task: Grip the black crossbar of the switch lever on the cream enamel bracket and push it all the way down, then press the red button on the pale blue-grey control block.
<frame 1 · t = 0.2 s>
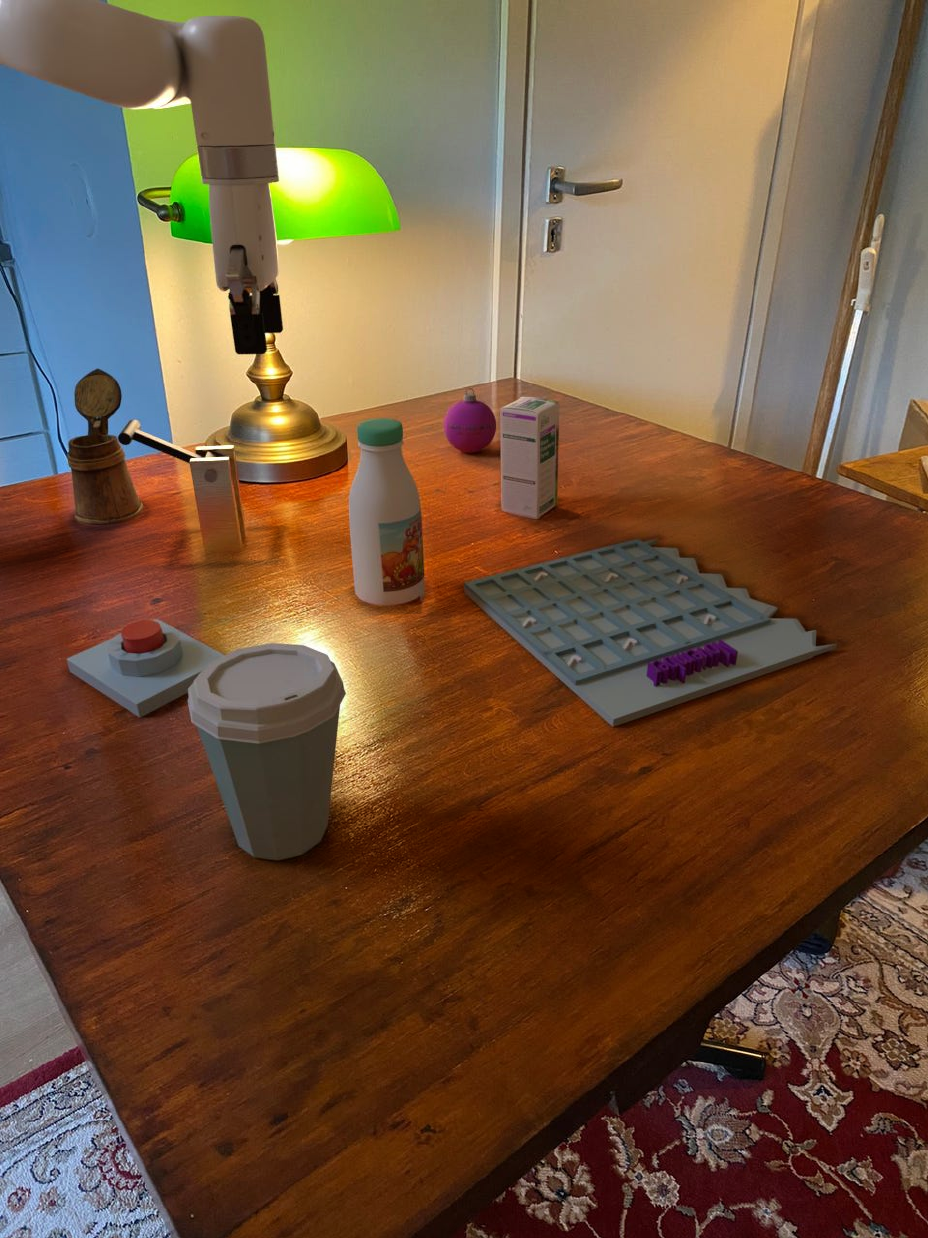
hand: (260, 342, 98), 26 cm above the table, tool pointing down, fingers open, 9 cm apart
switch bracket: (227, 552, 112), on the table
wooden mug: (115, 515, 123), on the table
christmas ornament: (470, 452, 143), on the table
control block: (151, 677, 88), on the table
calendar: (638, 621, 96), on the table
milk bottle: (390, 599, 101), on the table
disposable coffee cup: (287, 836, 69), on the table
button: (142, 637, 86), point 4 cm above the table, slide at 0.1 cm
switch: (175, 451, 105), point 13 cm above the table, hinge at 28.0°
syrup box: (528, 510, 123), on the table
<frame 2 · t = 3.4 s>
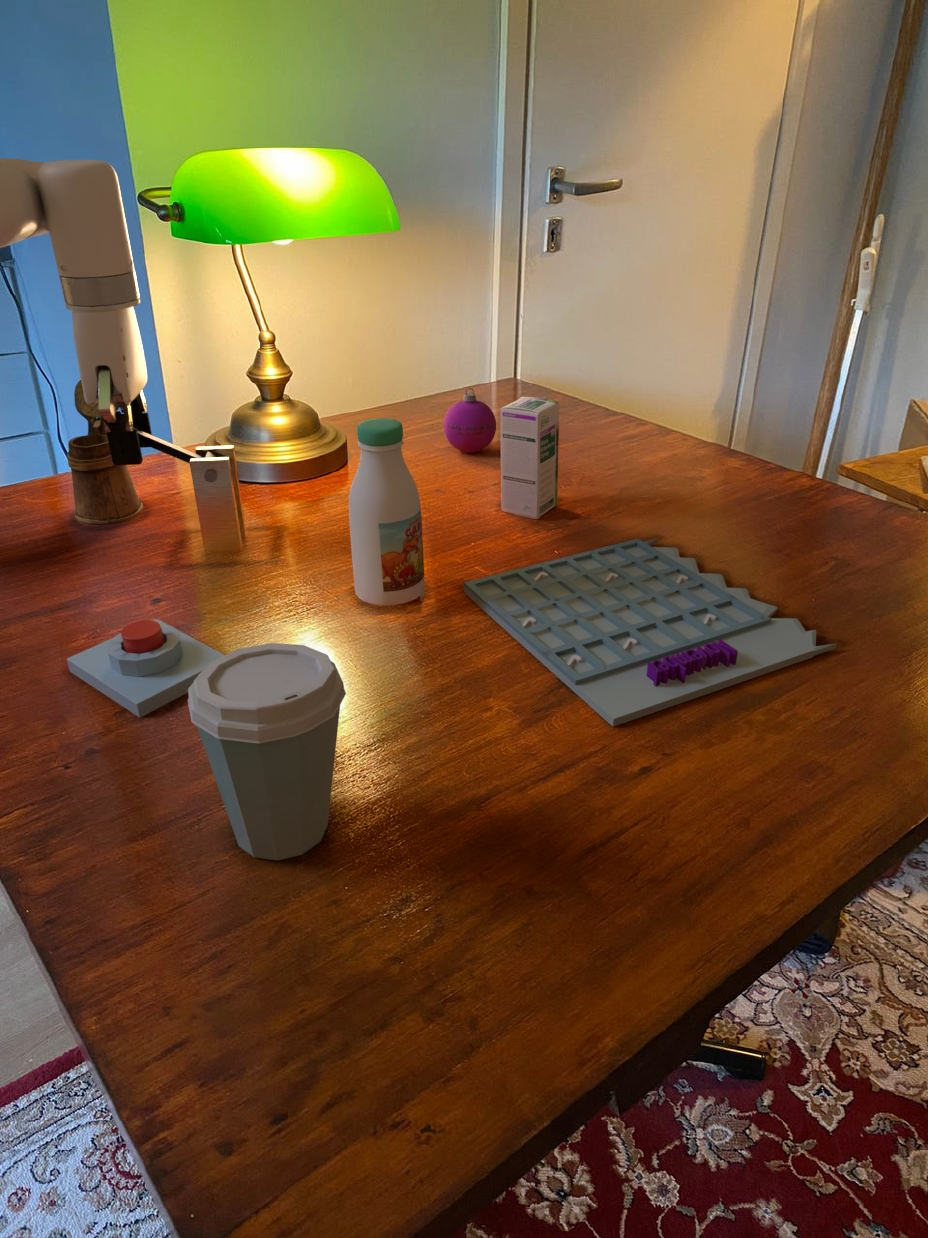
hand: (134, 453, 105), 13 cm above the table, tool pointing down, fingers closed on switch, 5 cm apart
switch: (175, 451, 105), point 13 cm above the table, hinge at 28.0°, touching gripper
everything else where it was.
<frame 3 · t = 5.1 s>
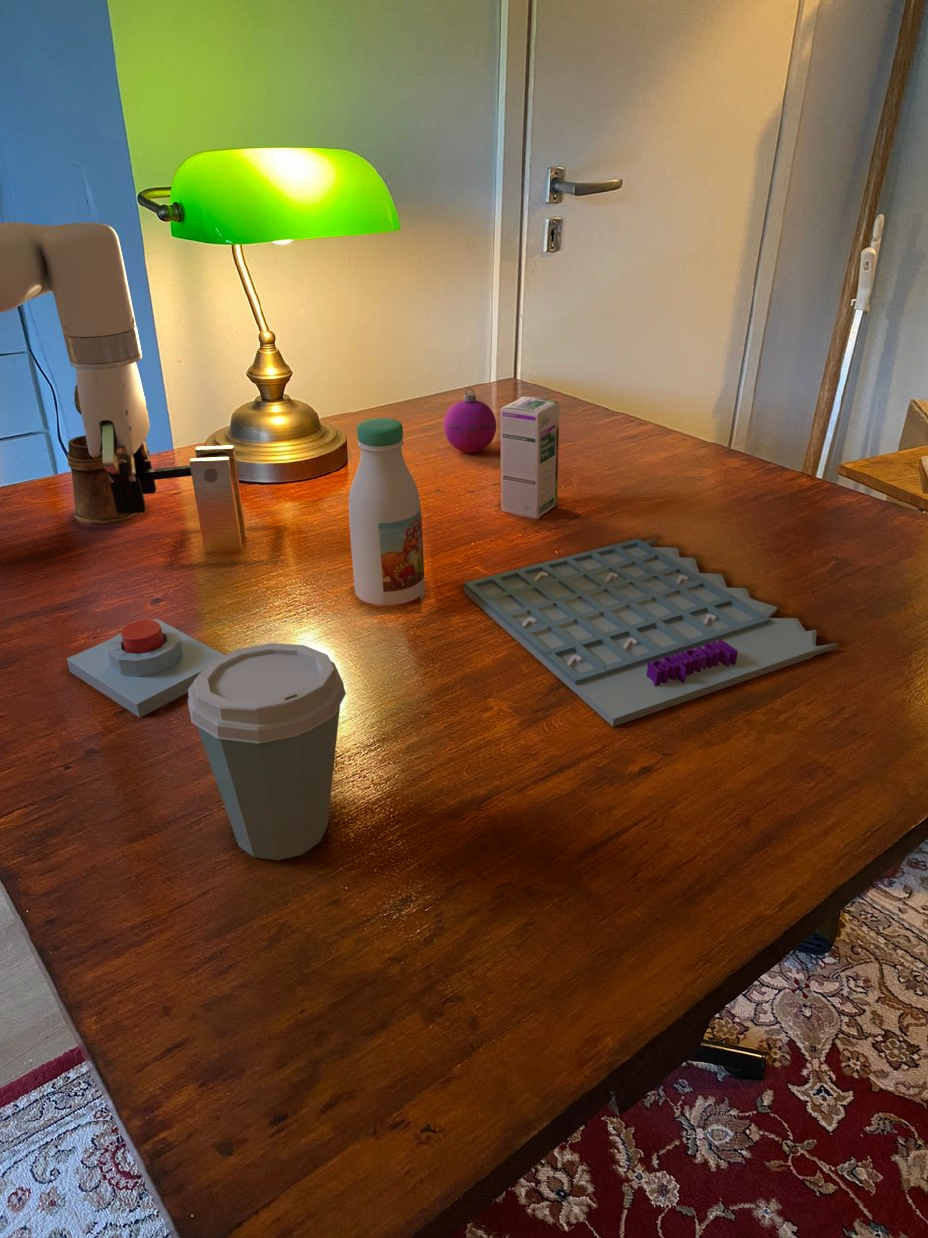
hand: (137, 501, 108), 7 cm above the table, tool pointing down, fingers closed on switch, 5 cm apart
switch: (174, 472, 106), point 11 cm above the table, hinge at -4.1°, touching gripper
everything else where it was.
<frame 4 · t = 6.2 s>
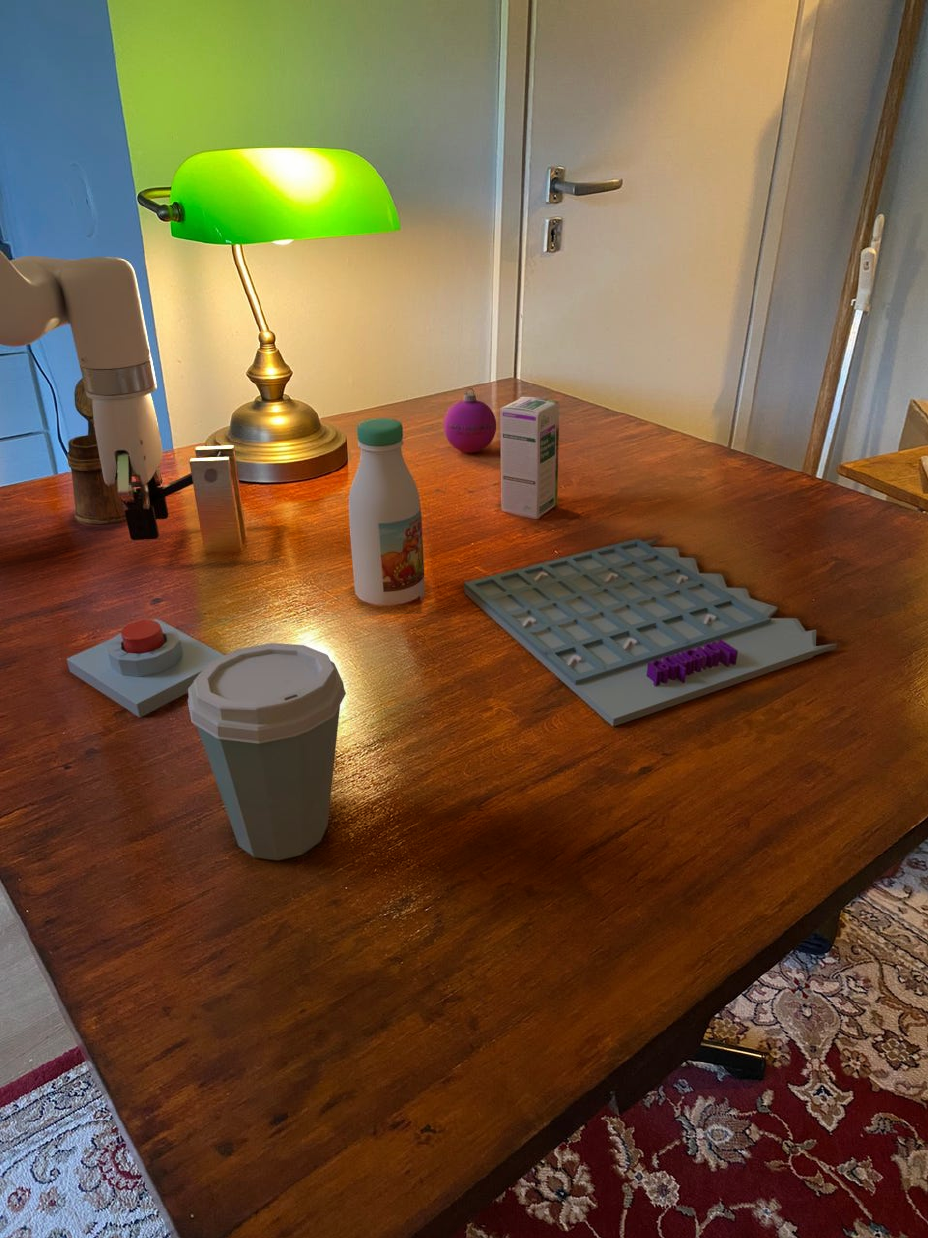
hand: (150, 526, 109), 4 cm above the table, tool pointing down, fingers open, 5 cm apart
switch: (179, 484, 107), point 9 cm above the table, hinge at -23.4°
everything else where it was.
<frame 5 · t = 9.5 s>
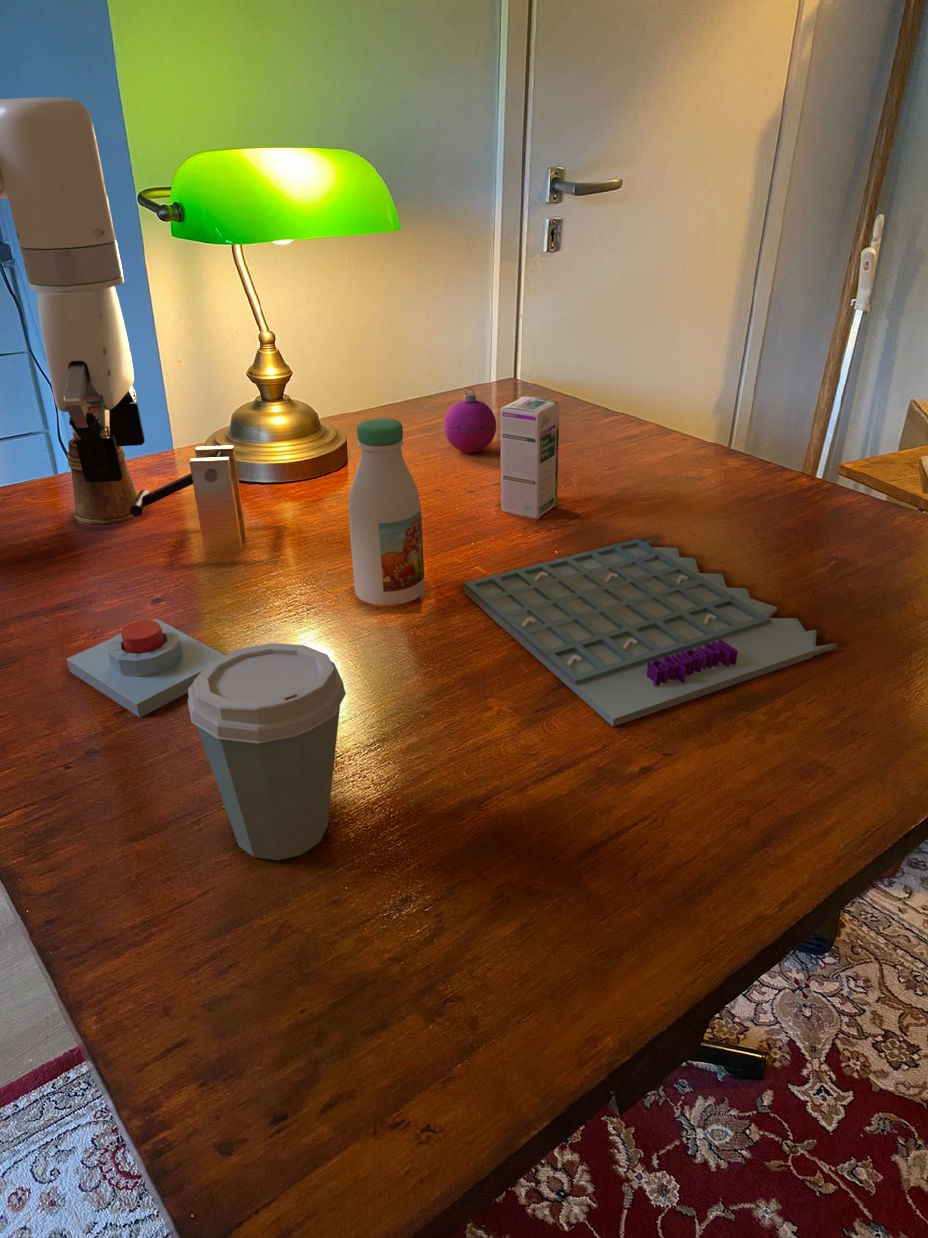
hand: (117, 461, 85), 19 cm above the table, tool pointing down, fingers open, 9 cm apart
nothing on the table moved.
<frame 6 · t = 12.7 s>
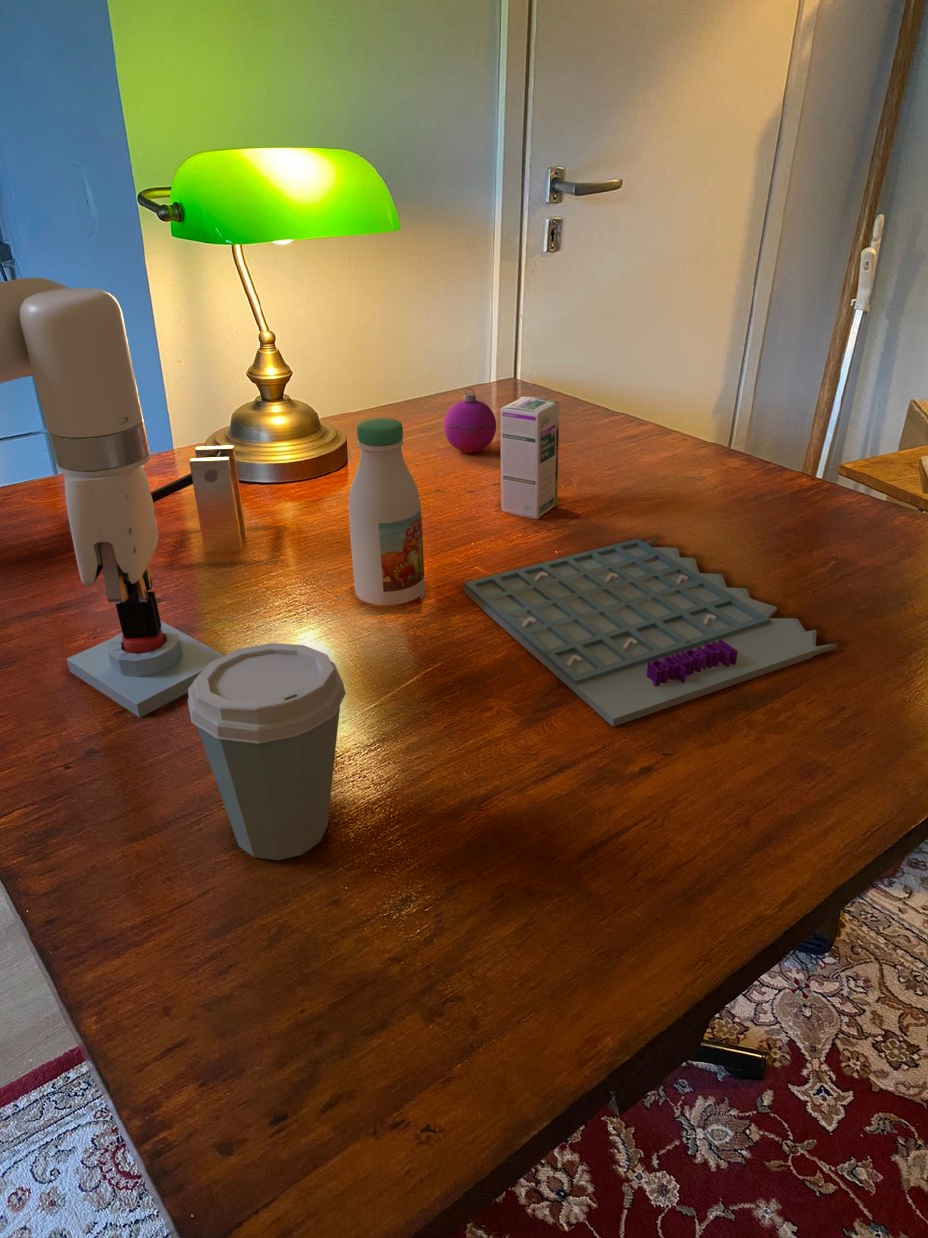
hand: (143, 633, 85), 5 cm above the table, tool pointing down, fingers closed
button: (143, 641, 86), point 4 cm above the table, slide at -0.3 cm, touching gripper
everything else where it was.
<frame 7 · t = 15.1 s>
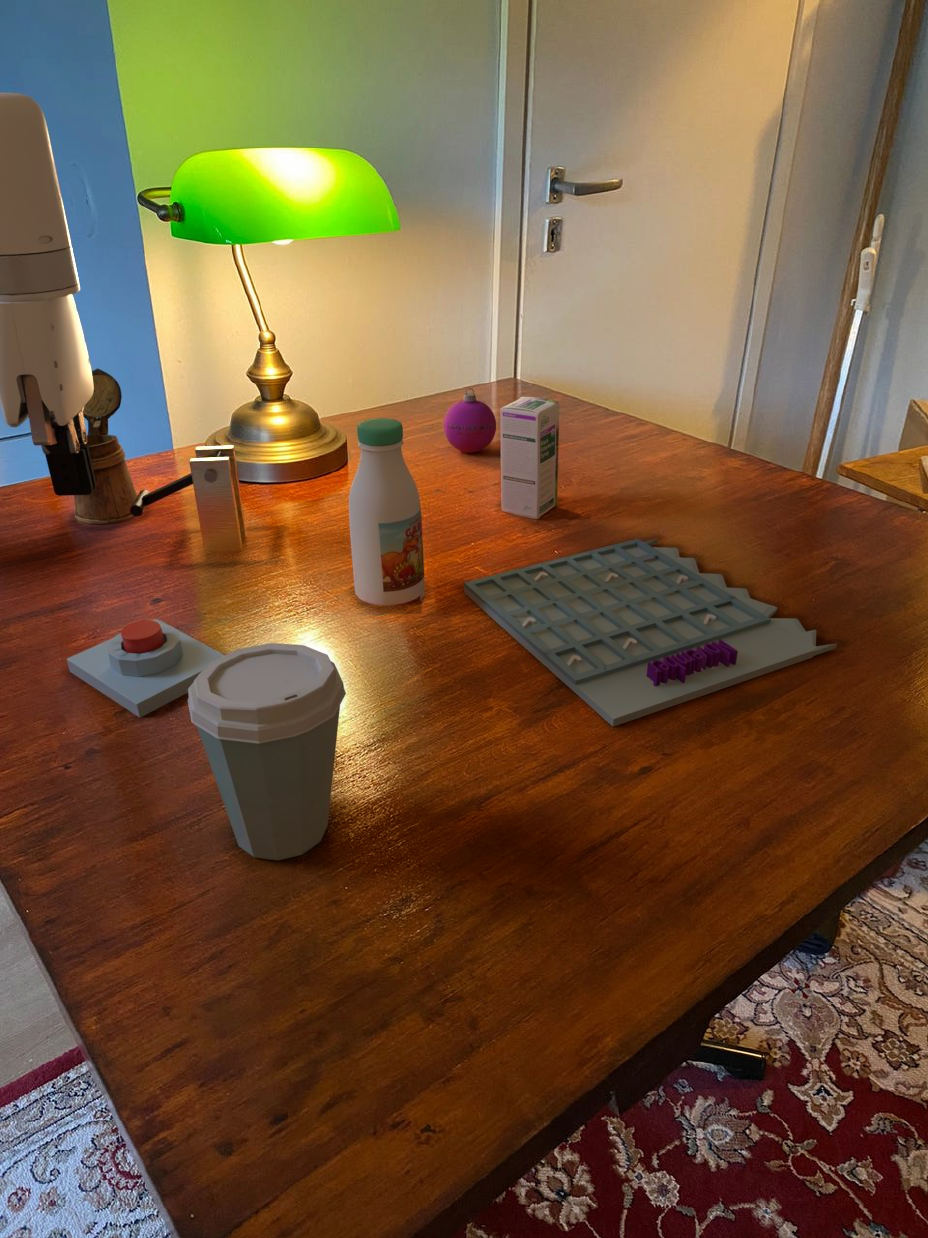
hand: (76, 491, 81), 18 cm above the table, tool pointing down, fingers closed
button: (142, 637, 86), point 4 cm above the table, slide at 0.1 cm
everything else where it was.
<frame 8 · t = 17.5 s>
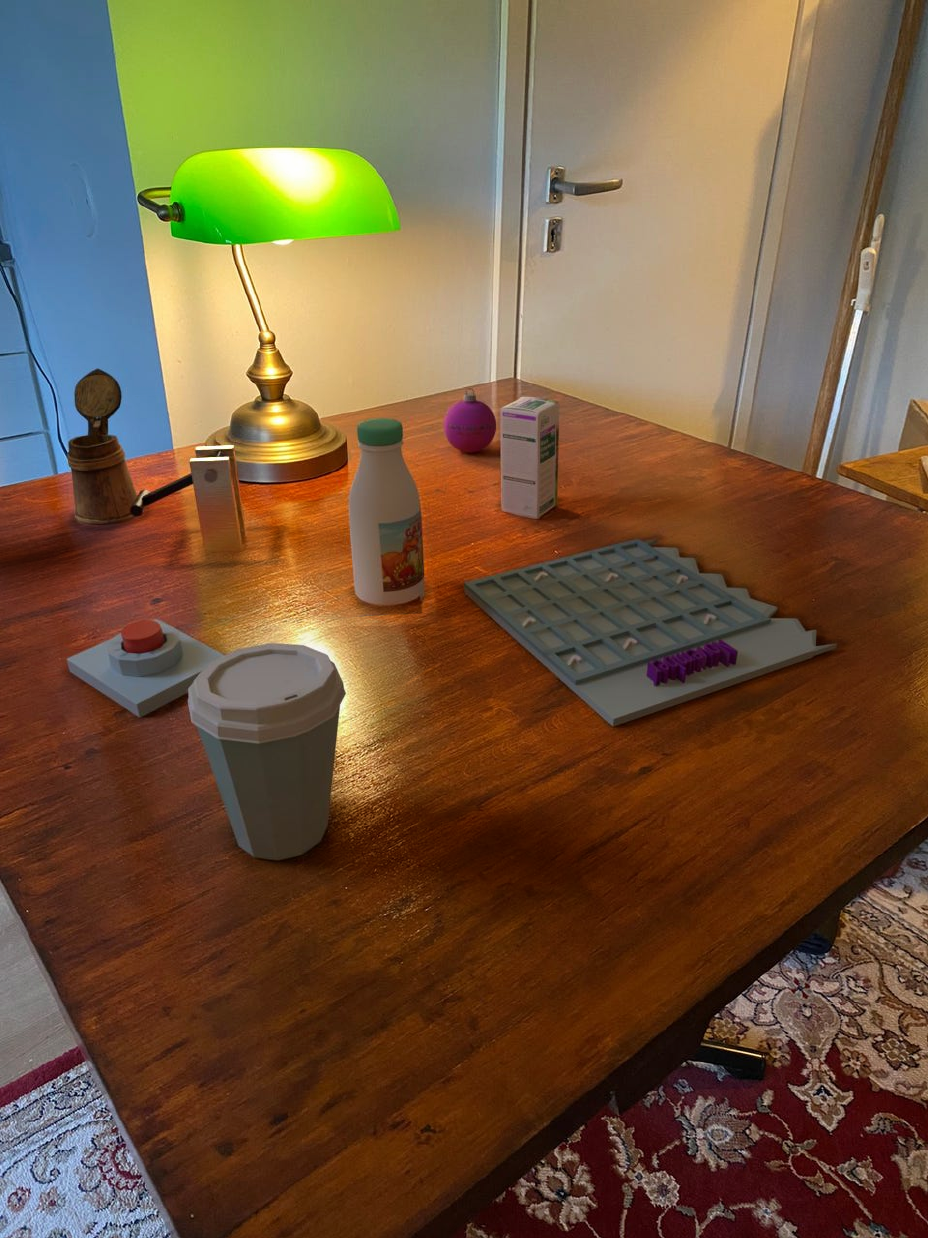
nothing on the table moved.
at the end: switch at -23° (first picture: +28°); button pushed in 1.1 cm at the most during the clip, back to where it started at the end; button slide at 0.1 cm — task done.
